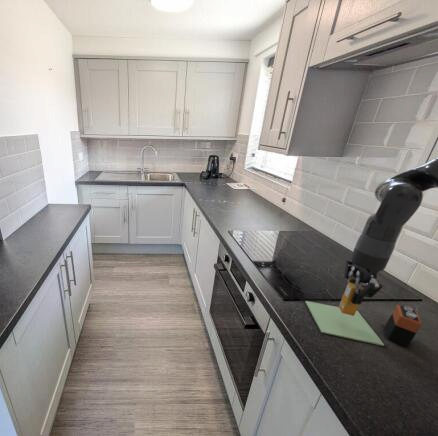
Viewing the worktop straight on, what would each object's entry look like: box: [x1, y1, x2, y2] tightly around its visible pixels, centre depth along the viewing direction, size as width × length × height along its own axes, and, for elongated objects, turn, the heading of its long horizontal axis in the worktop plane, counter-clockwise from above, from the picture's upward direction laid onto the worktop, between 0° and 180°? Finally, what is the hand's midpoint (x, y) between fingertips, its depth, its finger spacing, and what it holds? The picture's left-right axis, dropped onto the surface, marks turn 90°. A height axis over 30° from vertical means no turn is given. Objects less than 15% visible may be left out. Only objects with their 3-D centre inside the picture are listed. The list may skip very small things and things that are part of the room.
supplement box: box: [338, 282, 364, 316], centre depth 72 cm, size 3×3×10 cm
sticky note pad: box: [305, 300, 385, 347], centre depth 75 cm, size 16×14×1 cm
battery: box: [384, 304, 423, 347], centre depth 68 cm, size 4×7×10 cm, turn 141°
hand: (351, 298), depth 71 cm, fingers closed on supplement box, 3 cm apart
